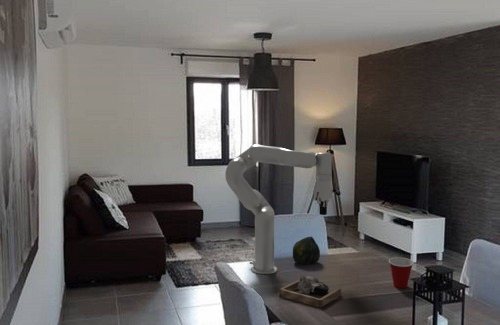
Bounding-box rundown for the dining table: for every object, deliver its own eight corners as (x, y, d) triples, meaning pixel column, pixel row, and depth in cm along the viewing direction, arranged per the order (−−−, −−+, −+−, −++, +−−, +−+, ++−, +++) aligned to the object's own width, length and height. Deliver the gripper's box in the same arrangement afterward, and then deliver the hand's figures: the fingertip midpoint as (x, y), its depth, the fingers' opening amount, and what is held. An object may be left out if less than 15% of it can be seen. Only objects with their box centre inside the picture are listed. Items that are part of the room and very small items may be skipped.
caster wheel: (329, 298, 202) (315, 300, 195) (310, 286, 210) (296, 288, 203) (333, 284, 201) (320, 286, 194) (314, 272, 209) (300, 274, 202)
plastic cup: (386, 288, 207) (387, 262, 206) (389, 281, 217) (389, 256, 216) (412, 292, 203) (413, 265, 202) (413, 284, 213) (414, 258, 212)
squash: (282, 251, 248) (297, 233, 240) (301, 247, 258) (315, 230, 250) (297, 273, 241) (312, 256, 233) (315, 268, 251) (331, 251, 243)
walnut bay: (279, 296, 198) (279, 289, 197) (300, 285, 211) (300, 278, 211) (320, 307, 185) (321, 300, 185) (341, 295, 198) (341, 288, 198)
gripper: (324, 175, 235) (323, 211, 236) (309, 178, 223) (308, 215, 224) (337, 176, 230) (337, 213, 231) (322, 179, 218) (322, 217, 220)
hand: (323, 214), depth 228 cm, fingers closed
